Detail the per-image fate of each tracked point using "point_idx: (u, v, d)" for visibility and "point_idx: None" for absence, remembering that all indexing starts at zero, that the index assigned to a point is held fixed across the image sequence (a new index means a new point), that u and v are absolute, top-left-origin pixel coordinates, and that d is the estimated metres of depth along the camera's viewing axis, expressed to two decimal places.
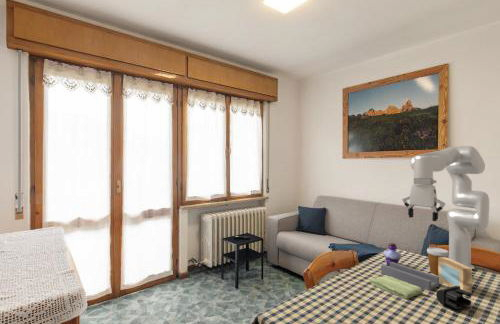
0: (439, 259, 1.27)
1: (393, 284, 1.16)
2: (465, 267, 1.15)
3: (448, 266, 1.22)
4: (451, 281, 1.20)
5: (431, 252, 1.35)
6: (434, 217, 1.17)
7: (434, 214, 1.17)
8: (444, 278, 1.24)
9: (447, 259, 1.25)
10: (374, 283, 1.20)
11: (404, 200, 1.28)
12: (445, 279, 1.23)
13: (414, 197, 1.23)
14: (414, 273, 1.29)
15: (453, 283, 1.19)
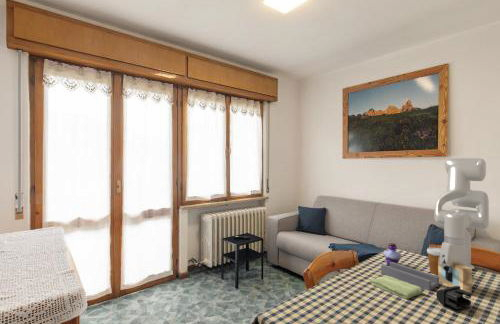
0: (439, 259, 1.27)
1: (393, 284, 1.16)
2: (465, 267, 1.15)
3: None
4: None
5: (431, 252, 1.35)
6: None
7: None
8: (444, 278, 1.24)
9: None
10: (374, 283, 1.20)
11: (442, 265, 1.20)
12: (445, 279, 1.23)
13: (453, 258, 1.19)
14: (414, 273, 1.29)
15: (453, 283, 1.19)
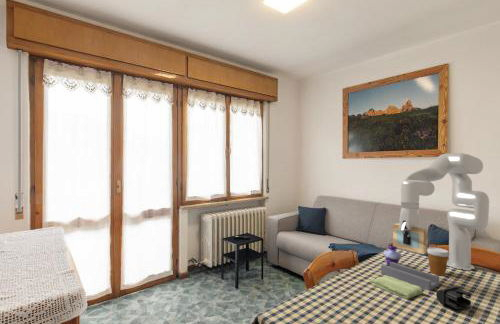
0: (394, 226, 1.32)
1: (394, 284, 1.16)
2: (422, 229, 1.24)
3: None
4: None
5: (431, 252, 1.35)
6: None
7: None
8: (400, 243, 1.30)
9: None
10: (374, 283, 1.20)
11: (404, 230, 1.25)
12: (402, 243, 1.29)
13: (412, 222, 1.25)
14: (414, 273, 1.29)
15: (412, 246, 1.25)
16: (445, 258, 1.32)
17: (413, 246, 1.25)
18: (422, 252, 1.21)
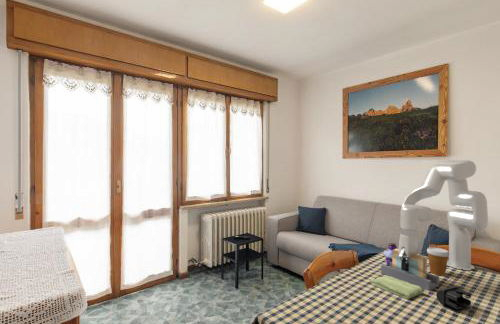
0: (393, 251, 1.32)
1: (394, 284, 1.16)
2: (422, 256, 1.24)
3: (404, 257, 1.28)
4: (409, 271, 1.26)
5: (431, 252, 1.35)
6: None
7: None
8: (400, 269, 1.29)
9: None
10: (375, 283, 1.20)
11: (402, 256, 1.24)
12: (401, 270, 1.29)
13: (411, 249, 1.25)
14: None
15: (411, 273, 1.25)
16: (445, 258, 1.32)
17: (412, 273, 1.25)
18: None
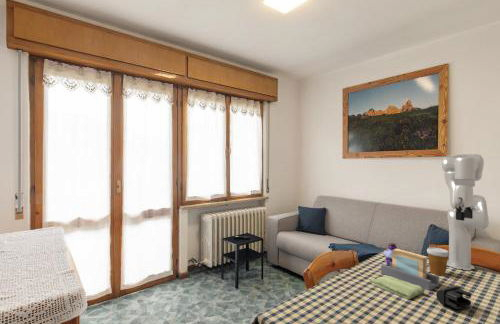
0: (393, 251, 1.32)
1: (395, 284, 1.16)
2: (422, 256, 1.24)
3: (404, 257, 1.28)
4: (409, 271, 1.26)
5: (431, 252, 1.35)
6: None
7: None
8: (400, 269, 1.29)
9: (400, 250, 1.32)
10: (375, 284, 1.20)
11: (459, 203, 1.20)
12: (401, 270, 1.29)
13: (468, 199, 1.22)
14: None
15: (411, 273, 1.25)
16: (445, 258, 1.32)
17: (412, 273, 1.25)
18: None
